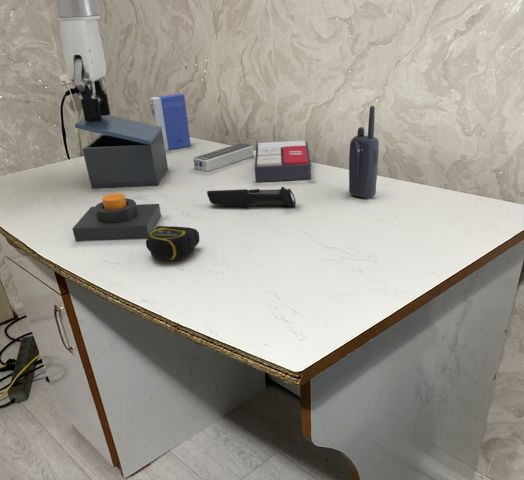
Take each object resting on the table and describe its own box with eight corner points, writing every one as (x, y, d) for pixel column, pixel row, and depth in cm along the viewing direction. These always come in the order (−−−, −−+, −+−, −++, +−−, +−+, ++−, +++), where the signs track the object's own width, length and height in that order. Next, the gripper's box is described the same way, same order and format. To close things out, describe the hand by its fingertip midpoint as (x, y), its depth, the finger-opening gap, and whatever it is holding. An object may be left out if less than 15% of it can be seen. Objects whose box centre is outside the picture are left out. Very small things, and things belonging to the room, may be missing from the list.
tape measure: (203, 247, 81) (200, 224, 79) (185, 267, 76) (181, 242, 74) (162, 244, 83) (158, 221, 81) (141, 263, 78) (137, 239, 75)
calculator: (254, 163, 104) (256, 140, 115) (255, 185, 106) (257, 160, 118) (311, 160, 103) (307, 137, 115) (311, 182, 106) (307, 157, 118)
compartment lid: (75, 127, 102) (75, 100, 99) (93, 115, 112) (94, 89, 109) (150, 145, 103) (152, 118, 101) (161, 131, 113) (164, 106, 110)
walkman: (187, 143, 135) (180, 91, 128) (190, 146, 133) (184, 93, 126) (157, 149, 132) (148, 96, 125) (160, 151, 130) (151, 97, 123)
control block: (75, 241, 86) (69, 217, 84) (94, 218, 94) (88, 196, 92) (148, 238, 85) (144, 214, 83) (161, 215, 93) (157, 193, 91)
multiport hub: (254, 155, 122) (253, 145, 121) (206, 171, 114) (205, 160, 112) (241, 153, 125) (240, 142, 123) (193, 168, 116) (192, 157, 115)
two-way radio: (379, 196, 95) (386, 105, 87) (363, 202, 93) (367, 110, 85) (356, 189, 99) (360, 101, 90) (339, 195, 97) (342, 106, 88)
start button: (101, 211, 86) (99, 201, 85) (107, 204, 89) (105, 193, 88) (123, 210, 86) (121, 200, 85) (129, 203, 89) (127, 192, 88)
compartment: (91, 188, 109) (82, 148, 104) (107, 171, 118) (99, 134, 114) (157, 185, 108) (150, 145, 103) (168, 168, 117) (162, 131, 113)
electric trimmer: (211, 203, 98) (208, 186, 96) (296, 201, 96) (295, 183, 94) (207, 211, 95) (204, 193, 93) (294, 208, 93) (294, 190, 91)
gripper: (72, 9, 103) (92, 110, 114) (39, 13, 89) (65, 128, 100) (110, 7, 103) (127, 109, 113) (83, 11, 89) (104, 127, 99)
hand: (98, 117), depth 106 cm, fingers closed on compartment lid, 5 cm apart
